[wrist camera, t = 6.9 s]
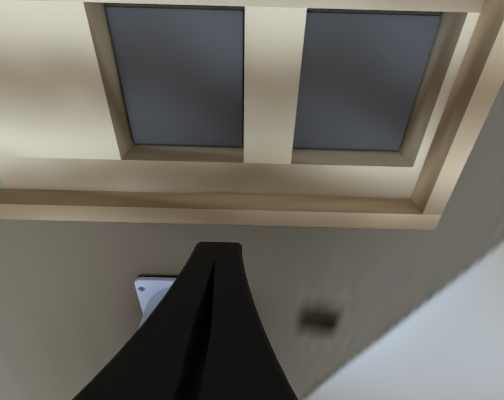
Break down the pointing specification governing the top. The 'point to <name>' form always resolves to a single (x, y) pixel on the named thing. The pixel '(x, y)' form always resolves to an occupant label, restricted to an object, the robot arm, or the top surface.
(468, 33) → the trap track
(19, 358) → the top surface
